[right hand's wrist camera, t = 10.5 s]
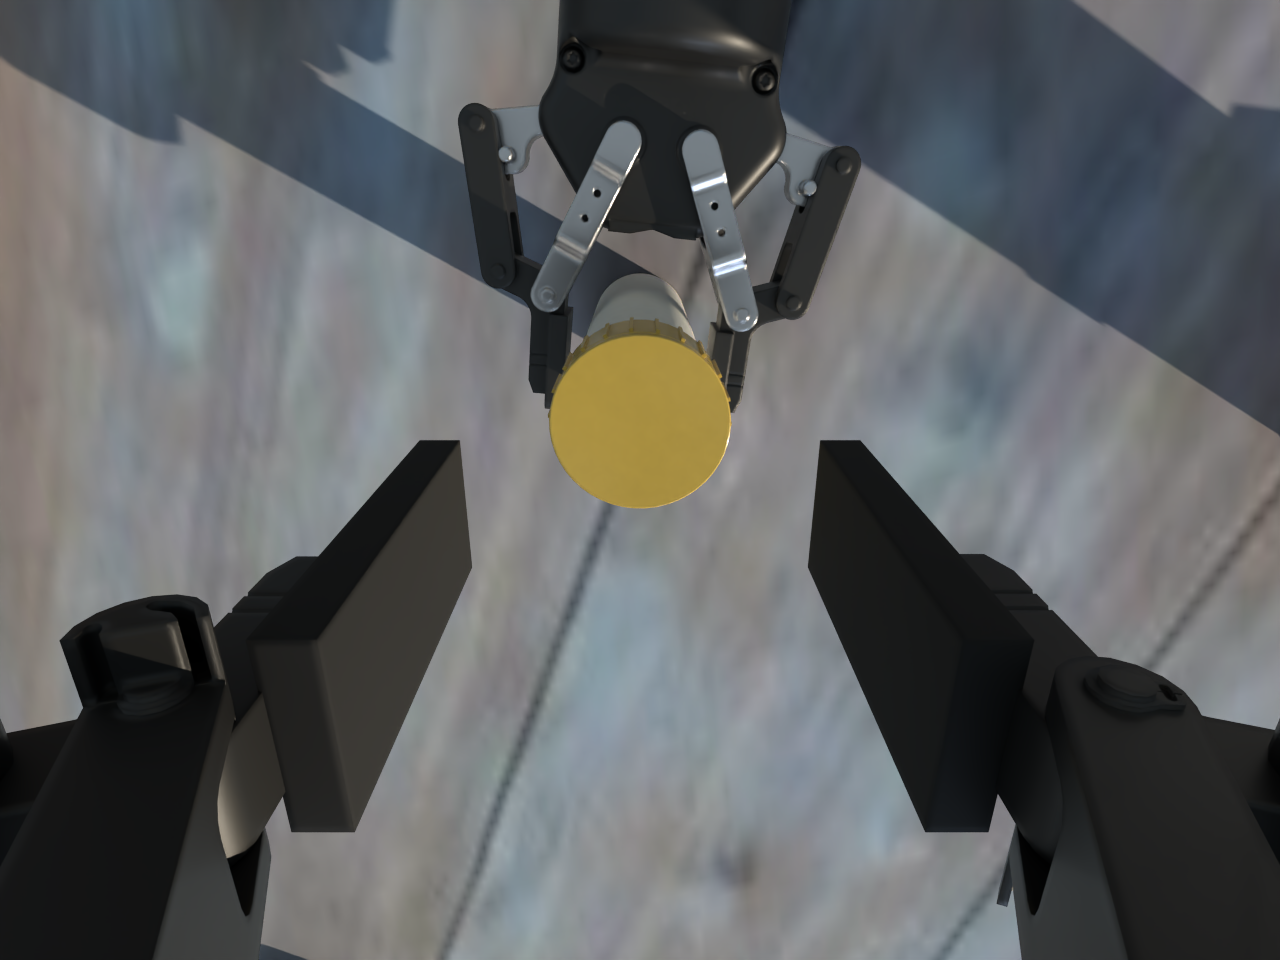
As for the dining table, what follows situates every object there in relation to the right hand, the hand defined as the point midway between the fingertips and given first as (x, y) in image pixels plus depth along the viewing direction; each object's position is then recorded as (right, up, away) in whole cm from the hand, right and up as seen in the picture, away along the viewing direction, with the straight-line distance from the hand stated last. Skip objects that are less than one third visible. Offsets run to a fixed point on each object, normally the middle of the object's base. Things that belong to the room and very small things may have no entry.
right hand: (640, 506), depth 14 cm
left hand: (0, +3, +15) cm, 15 cm away
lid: (0, +2, +5) cm, 6 cm away
